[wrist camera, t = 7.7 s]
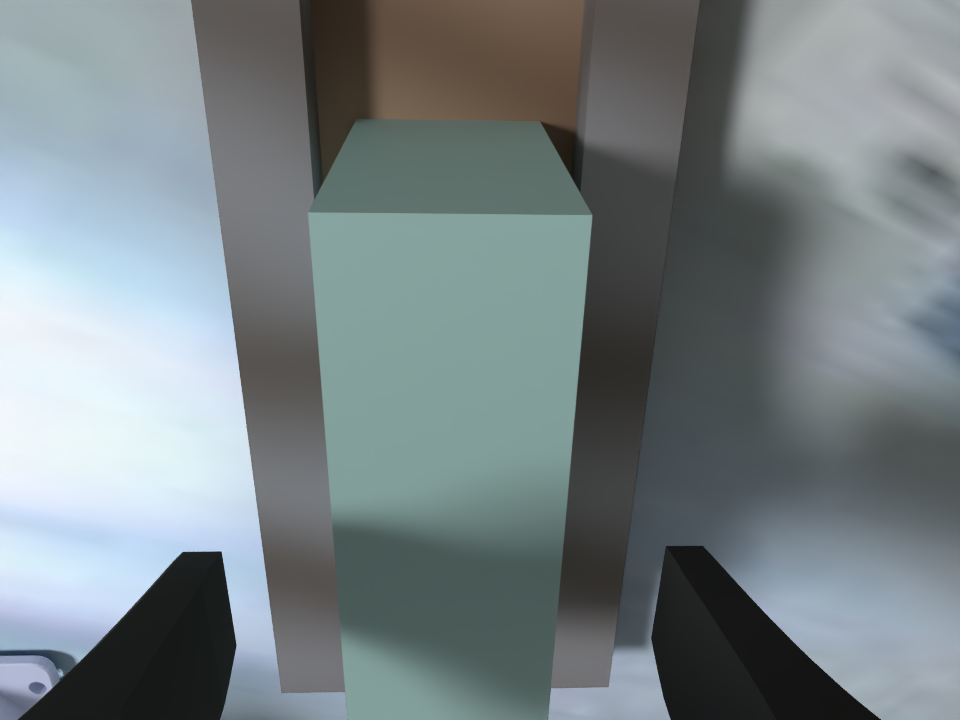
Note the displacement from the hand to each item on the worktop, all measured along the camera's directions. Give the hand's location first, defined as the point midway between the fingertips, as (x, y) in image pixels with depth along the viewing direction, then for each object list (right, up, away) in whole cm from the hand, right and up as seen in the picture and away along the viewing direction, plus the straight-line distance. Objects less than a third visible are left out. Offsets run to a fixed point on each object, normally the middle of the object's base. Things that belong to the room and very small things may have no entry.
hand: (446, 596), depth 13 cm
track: (0, +4, +7) cm, 9 cm away
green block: (0, +4, +7) cm, 8 cm away
